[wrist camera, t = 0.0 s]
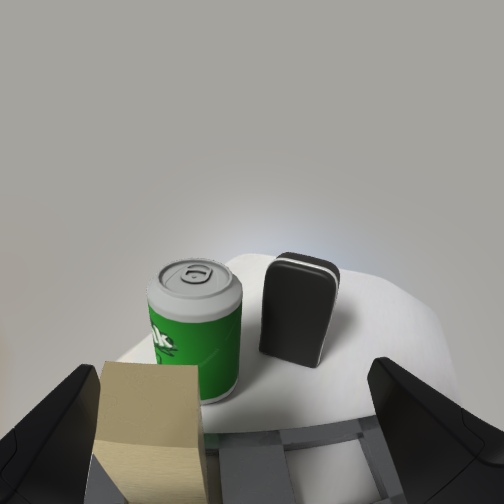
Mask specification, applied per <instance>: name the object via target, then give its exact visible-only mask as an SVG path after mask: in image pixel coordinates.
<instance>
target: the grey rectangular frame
mask: <svg viewBox="0 0 504 504" xmlns="http://www.w3.org/2000/svg"><path fill="white" fill-rule="evenodd" d="M355 439H359V442H360V444H361V447H362V449H363V452H364V454H365V457H366V459H367V462H368V465H369V467H370V470H371V472H372V475H373V477H374V480H375V482H376V485H377V488H378V490H379V493H380V495H381V498H382V500H381V501H378V502H375V503H371V504H407V502H406V498H405V495H404V492H403V489H402V486H401V483H400V480H399V478H398V475H397V472H396V469H395V466H394V463H393V460H392V457H391V455H390V452H389V449H388V446H387V443H386V441H385V438H384V435H383V433H382V430H381V427H380V424H379V422H378V419H377V415H373V416H368V417H364V418H359V419H353V420H348V421H342V422H337V423H331V424H324V425H317V426H310V427H302V428H294V429H285V430H274V431H262V432H246V433H217V434H204V444H205V453H206V455H219V463H220V476H221V489H222V500H223V504H296V503H295V498H294V494H293V489H292V485H291V481H290V476H289V472H288V467H287V463H286V458H285V454H284V451H288V450H296V449H303V448H310V447H317V446H323V445H329V444H335V443H340V442H345V441H350V440H355ZM84 504H128V500H127V499H126V498H125V497H124V495H123V494H122V493H121V491H120V490H119V489H118V488H117V486H116V485H115V484H114V482H113V481H112V480H111V478H110V477H109V475H108V474H107V473H106V471H105V470H104V468H103V467H102V465H101V464H100V463H99V461H98V460H97V458H96V457H95V455H94V454H93V455H92V460H91V465H90V471H89V476H88V482H87V488H86V494H85V500H84Z"/></svg>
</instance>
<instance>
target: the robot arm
mask: <svg viewBox="0 0 504 504" xmlns="http://www.w3.org/2000/svg"><path fill="white" fill-rule="evenodd" d="M367 380H368V385H369V388H370V392H371V396H372V400H373V404H374V408H375V412H376V415H377V419H378V422H379V424H380V427H381V430H382V433H383V435H384V438H385V441H386V443H387V446H388V449H389V452H390V455H391V457H392V460H393V463H394V466H395V469H396V472H397V475H398V478H399V480H400V483H401V486H402V489H403V492H404V495H405V498H406V502H407V504H504V432H503V431H501V430H499V429H498V428H496V427H494V426H492V425H490V424H488V423H486V422H485V421H483V420H481V419H479V418H478V417H476V416H474V415H473V414H471V413H470V412H468V411H467V410H465V409H464V408H461V407H460V406H459V405H458V404H456V403H454V402H453V401H451V400H450V399H448V398H447V397H445V396H444V395H442V394H441V393H439V392H438V391H436V390H435V389H433V388H432V387H431V386H429V385H428V384H426V383H425V382H423V381H422V380H420V379H419V378H417V377H416V376H414V375H413V374H411V373H410V372H408V371H407V370H405V369H404V368H402V367H401V366H399V365H398V364H396V363H395V362H393V361H392V360H390V359H389V358H387V357H380V358H375V359H374V361H373V363H372V366H371V368H370V371H369V373H368V377H367ZM100 391H101V385H100V381H99V378H98V375H97V372H96V370H95V367H94V366H93V365H88V364H81V365H80V366H79V367H77V368H76V369H75V370H74V371H73V372H72V373H71V374H70V375H69V376H68V377H67V378H65V379H64V380H63V381H62V382H61V383H60V384H59V385H58V386H57V387H56V388H55V389H54V390H53V391H51V393H49V394H48V395H47V396H46V397H45V398H44V399H43V400H42V401H41V402H40V403H39V404H38V405H37V406H36V407H35V408H34V409H32V411H30V412H29V413H28V414H27V415H26V416H25V417H24V418H23V419H22V420H21V421H20V422H19V423H18V424H17V425H16V426H15V427H14V428H12V429H11V431H9V432H8V433H7V434H6V435H5V436H4V437H3V438H2V439H1V440H0V504H84V498H85V491H86V485H87V478H88V472H89V466H90V461H91V455H92V450H93V445H94V440H95V435H96V429H97V419H98V408H99V399H100Z"/></svg>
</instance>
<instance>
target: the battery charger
mask: <svg viewBox="0 0 504 504" xmlns="http://www.w3.org/2000/svg"><path fill="white" fill-rule="evenodd" d="M339 283H340V273H339V270H338V268H337V267H336V266H335V265H334V264H333V263H331V262H329V261H326V260H322V259H318V258H314V257H311V256H306V255H302V254H297V253H291V252H286V253H282V254H281V255H279V256H278V257H277V258H276V259H275V260H273V261H272V262H271V263H270V264H269V266H268V268H267V271H266V275H265V281H264V289H263V299H262V318H261V336H260V344H259V351H260V352H263V353H265V354H268V355H271V356H274V357H277V358H280V359H283V360H286V361H289V362H292V363H296V364H299V365H303V366H307V367H311V368H315V367H316V366H317V365H318V364H319V361H320V356H321V352H322V348H323V344H324V341H325V338H326V335H327V332H328V329H329V325H330V322H331V319H332V315H333V311H334V307H335V303H336V299H337V294H338V289H339Z"/></svg>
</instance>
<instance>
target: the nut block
mask: <svg viewBox="0 0 504 504" xmlns="http://www.w3.org/2000/svg"><path fill="white" fill-rule="evenodd" d="M99 381H100V385H101V391H100V399H99V408H98V419H97V429H96V435H95V440H94V445H93V450H92V452H93V454H94V455H95V457H96V458H97V460H98V461H99V463H100V464H101V465H102V467H103V468H104V470H105V471H106V473H107V474H108V475H109V477H110V478H111V480H112V481H113V482H114V484H115V485H116V486H117V488H118V489H119V490H120V491H121V493H122V494H123V495H124V497H125V498H126V499H127V500H128V502H129V503H130V504H209V496H208V478H207V462H206V453H205V444H204V434H203V424H202V413H201V401H200V389H199V375H198V365H160V364H138V363H122V362H109V361H105V364H104V367H103V370H102V373H101V376H100V379H99Z"/></svg>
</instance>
